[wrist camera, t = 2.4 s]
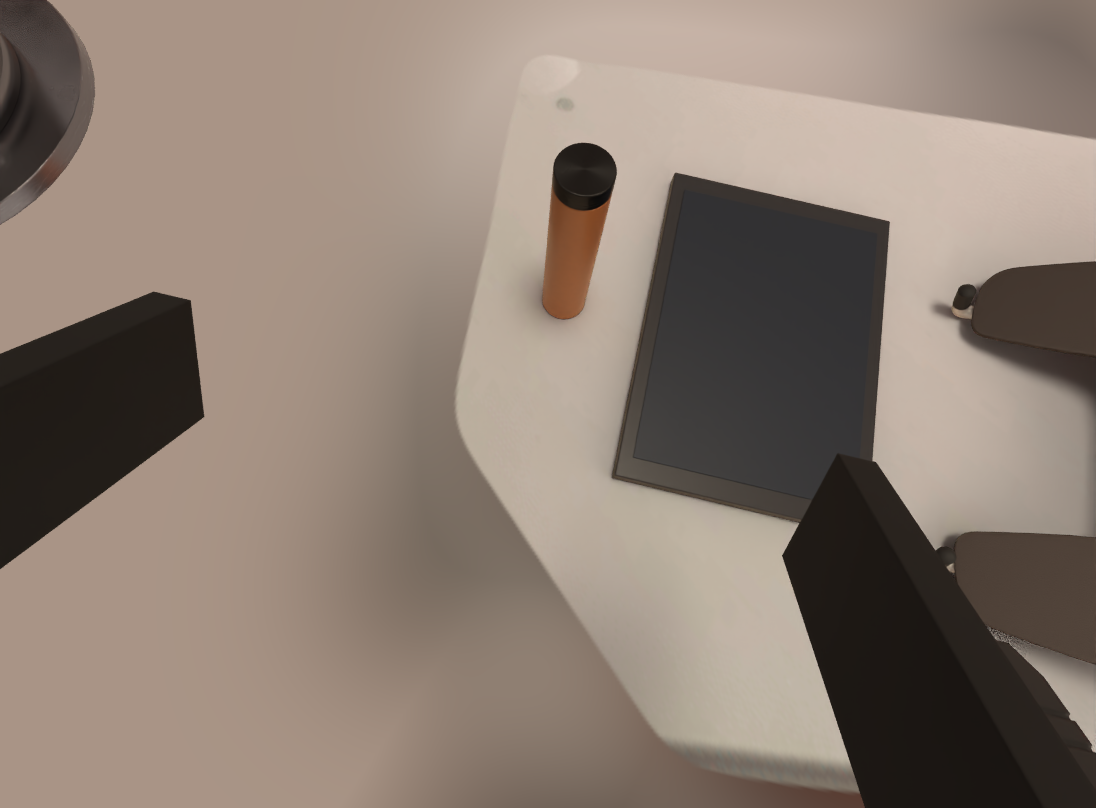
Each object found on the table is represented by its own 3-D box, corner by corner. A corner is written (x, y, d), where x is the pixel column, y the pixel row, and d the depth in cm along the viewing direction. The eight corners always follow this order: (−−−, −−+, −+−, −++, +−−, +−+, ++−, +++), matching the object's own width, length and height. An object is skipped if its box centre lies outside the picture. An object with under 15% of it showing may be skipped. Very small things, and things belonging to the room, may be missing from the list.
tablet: (611, 478, 32) (614, 475, 31) (671, 181, 38) (675, 170, 36) (856, 536, 32) (868, 535, 31) (880, 229, 37) (891, 219, 36)
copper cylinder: (537, 313, 35) (547, 188, 23) (547, 276, 35) (561, 135, 24) (579, 323, 34) (610, 202, 23) (588, 285, 35) (622, 150, 24)
